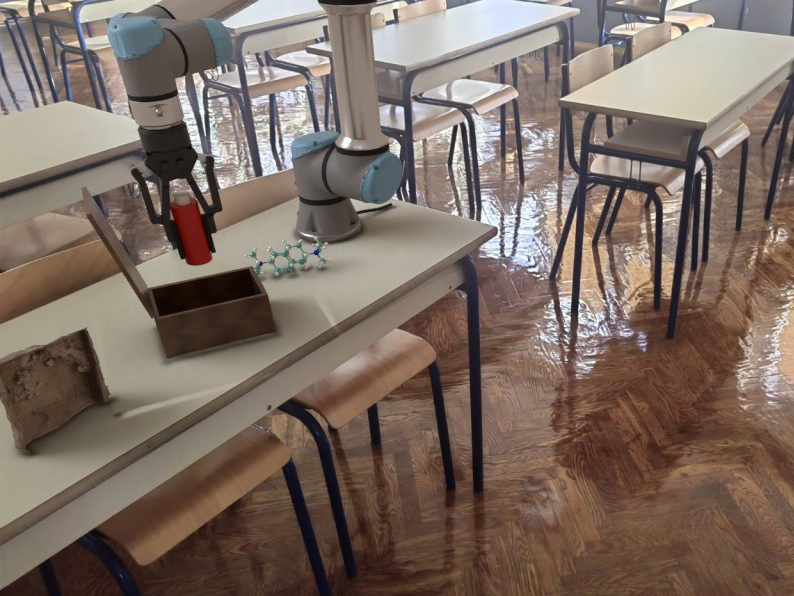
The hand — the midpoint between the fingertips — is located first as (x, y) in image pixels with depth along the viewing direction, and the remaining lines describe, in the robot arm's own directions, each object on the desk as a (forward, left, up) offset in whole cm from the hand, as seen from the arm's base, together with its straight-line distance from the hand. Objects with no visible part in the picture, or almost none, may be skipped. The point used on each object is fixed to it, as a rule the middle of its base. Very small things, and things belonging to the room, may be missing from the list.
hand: (197, 252), depth 137 cm
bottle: (0, 0, -1) cm, 1 cm away
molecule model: (-19, -18, -17) cm, 31 cm away
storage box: (0, 0, -17) cm, 17 cm away
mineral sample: (+27, +18, -17) cm, 37 cm away
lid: (+12, 0, +3) cm, 12 cm away
